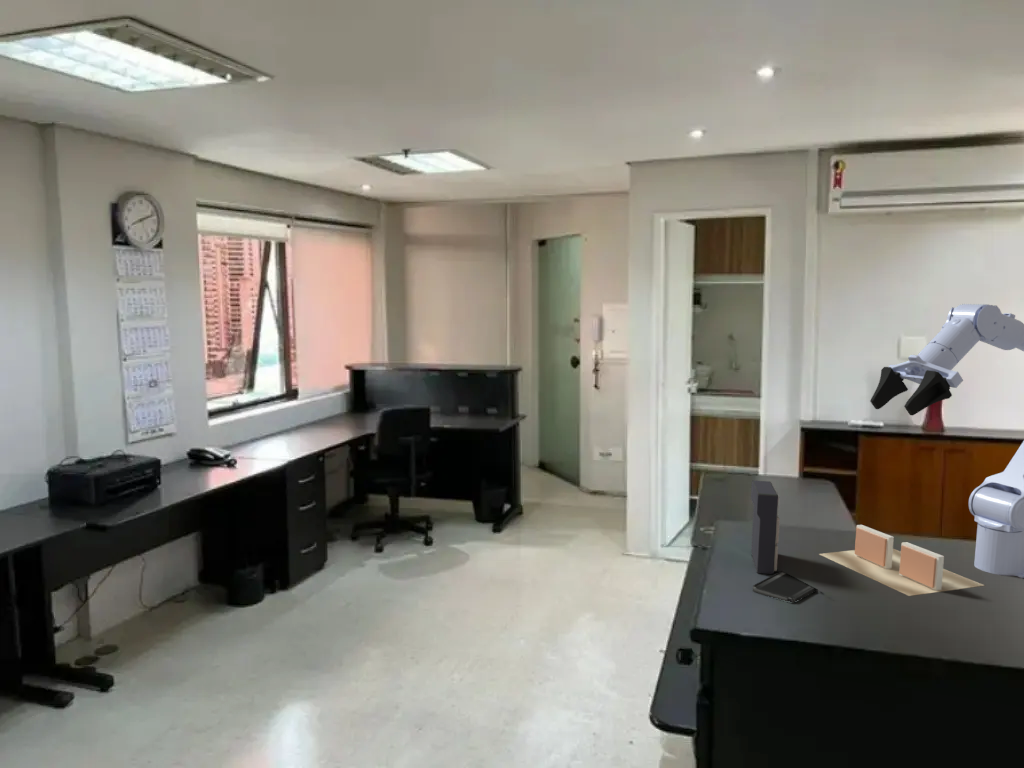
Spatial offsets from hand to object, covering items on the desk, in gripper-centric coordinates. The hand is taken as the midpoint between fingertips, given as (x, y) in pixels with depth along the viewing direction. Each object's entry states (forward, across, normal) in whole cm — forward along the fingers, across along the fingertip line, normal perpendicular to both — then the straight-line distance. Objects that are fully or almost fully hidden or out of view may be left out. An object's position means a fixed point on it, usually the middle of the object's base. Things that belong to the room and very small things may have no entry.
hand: (890, 408), depth 132 cm
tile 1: (+15, -10, +28) cm, 33 cm away
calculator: (+31, -16, +16) cm, 38 cm away
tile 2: (+15, +1, +28) cm, 32 cm away
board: (+14, -5, +30) cm, 34 cm away
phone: (+32, -5, +15) cm, 36 cm away
